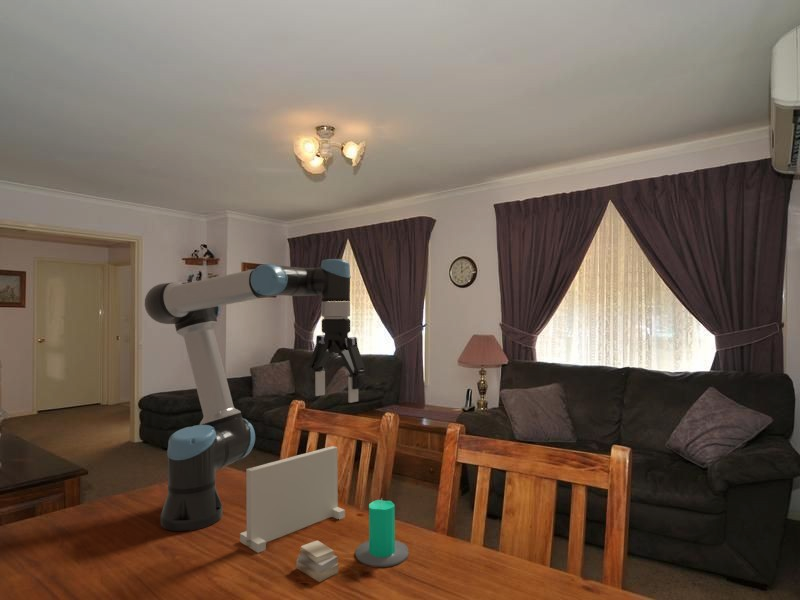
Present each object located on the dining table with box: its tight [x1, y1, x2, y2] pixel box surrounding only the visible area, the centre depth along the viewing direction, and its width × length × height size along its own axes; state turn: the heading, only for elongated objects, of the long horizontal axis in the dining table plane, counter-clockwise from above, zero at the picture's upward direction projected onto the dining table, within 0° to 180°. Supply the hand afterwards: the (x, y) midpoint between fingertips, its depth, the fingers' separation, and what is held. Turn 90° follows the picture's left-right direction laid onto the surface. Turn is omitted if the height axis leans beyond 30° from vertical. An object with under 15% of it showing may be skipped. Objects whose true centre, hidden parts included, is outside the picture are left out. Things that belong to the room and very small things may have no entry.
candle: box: [368, 499, 396, 557], centre depth 116 cm, size 6×6×12 cm
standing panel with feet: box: [239, 445, 346, 554], centre depth 129 cm, size 8×26×18 cm, turn 137°
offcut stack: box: [295, 540, 339, 583], centre depth 109 cm, size 8×5×4 cm, turn 47°
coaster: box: [355, 539, 409, 568], centre depth 116 cm, size 12×12×1 cm
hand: (336, 398), depth 135 cm, fingers open, 13 cm apart
